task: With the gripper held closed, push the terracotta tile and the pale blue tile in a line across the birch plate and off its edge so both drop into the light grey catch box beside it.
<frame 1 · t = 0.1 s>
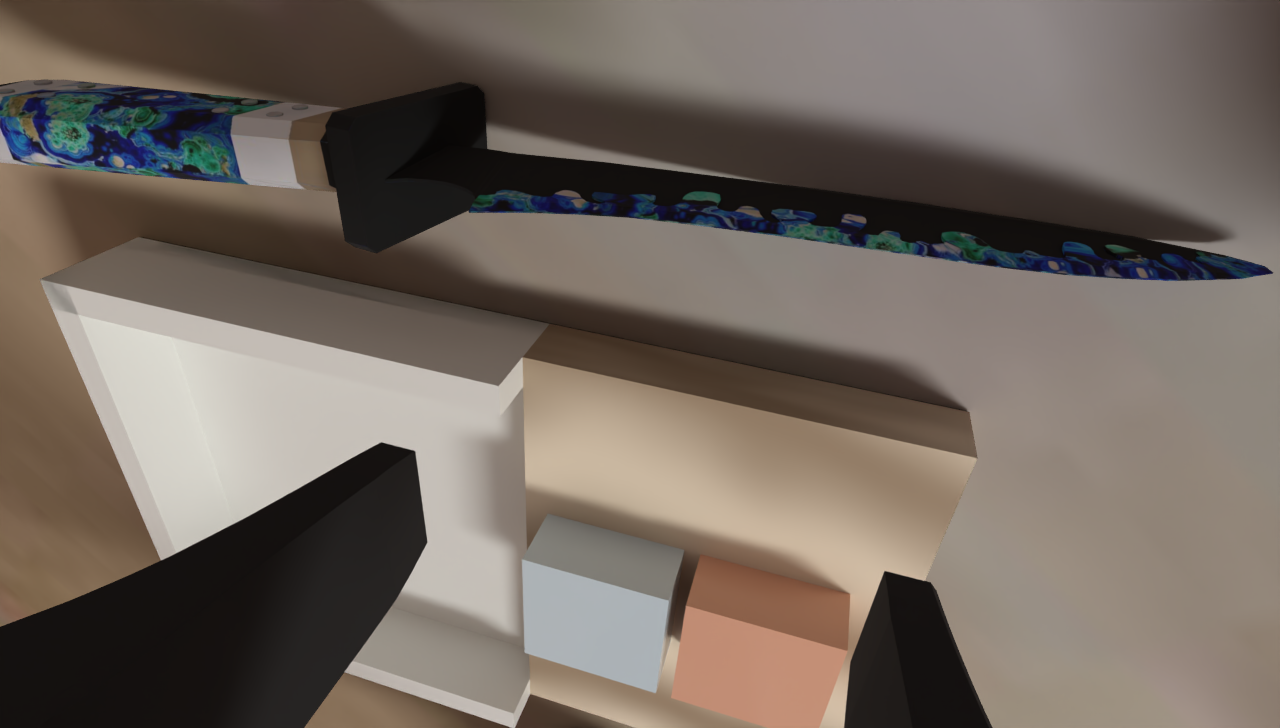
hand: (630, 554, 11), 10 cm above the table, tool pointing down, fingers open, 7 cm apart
catch box: (365, 466, 27), on the table
birch plate: (711, 558, 25), on the table
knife: (589, 161, 19), on the table
terracotta tile: (761, 621, 23), point 2 cm above the table, touching birch plate
blue tile: (611, 579, 24), point 2 cm above the table, touching birch plate
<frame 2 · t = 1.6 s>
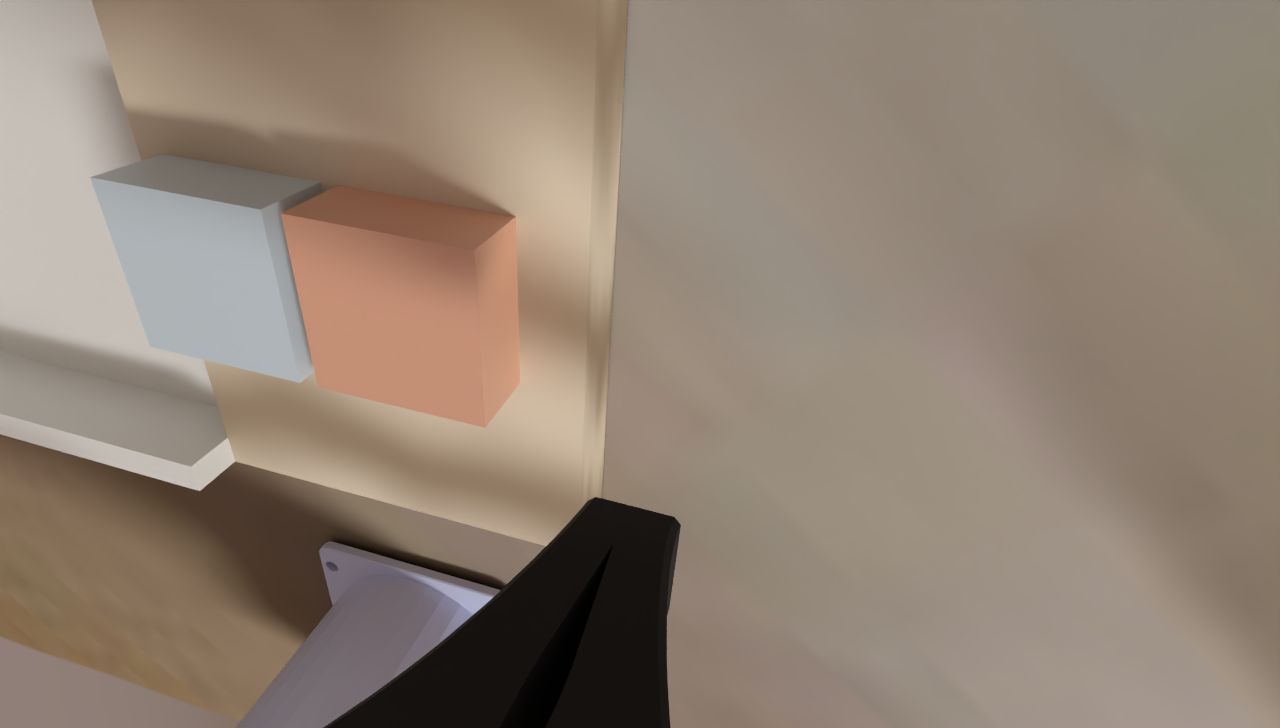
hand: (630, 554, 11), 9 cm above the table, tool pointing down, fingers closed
catch box: (16, 169, 22), on the table
birch plate: (405, 244, 20), on the table
terracotta tile: (433, 288, 18), point 2 cm above the table, touching birch plate
blue tile: (259, 252, 19), point 2 cm above the table, touching birch plate
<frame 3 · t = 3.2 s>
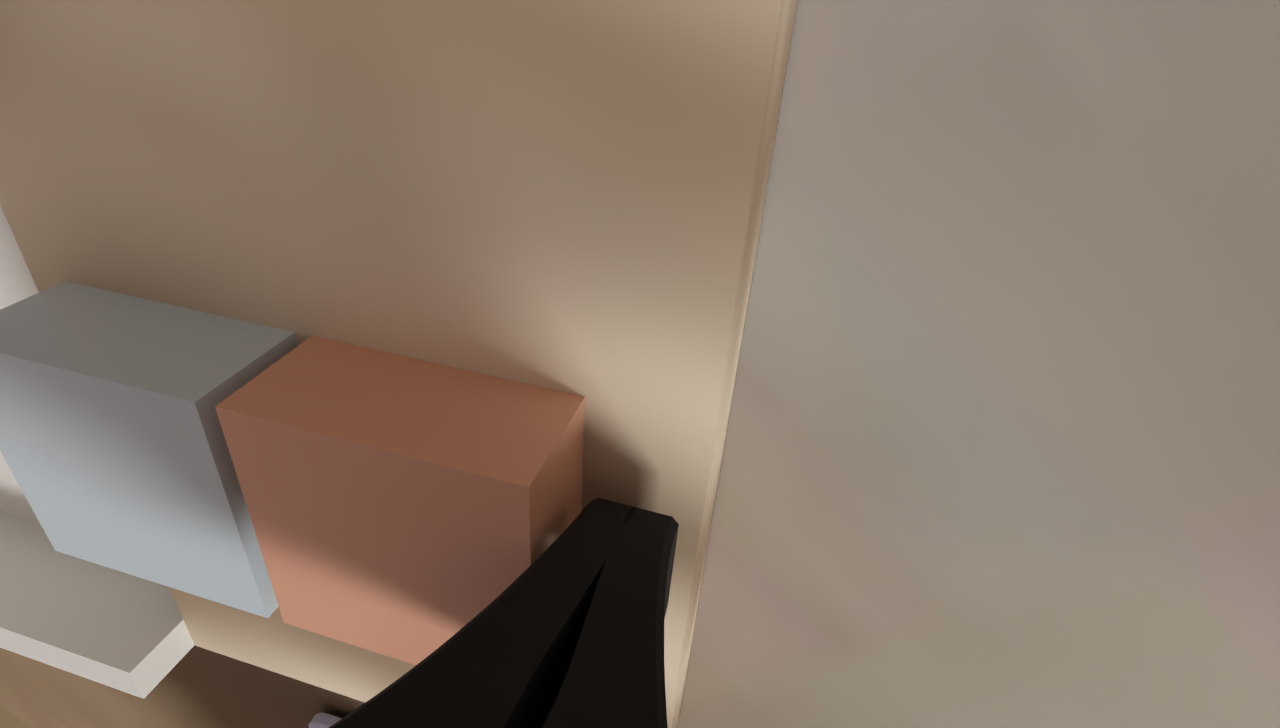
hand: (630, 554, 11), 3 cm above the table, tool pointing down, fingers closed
birch plate: (419, 390, 14), on the table
terracotta tile: (454, 477, 12), point 2 cm above the table, touching gripper
blue tile: (211, 415, 13), point 2 cm above the table, touching birch plate
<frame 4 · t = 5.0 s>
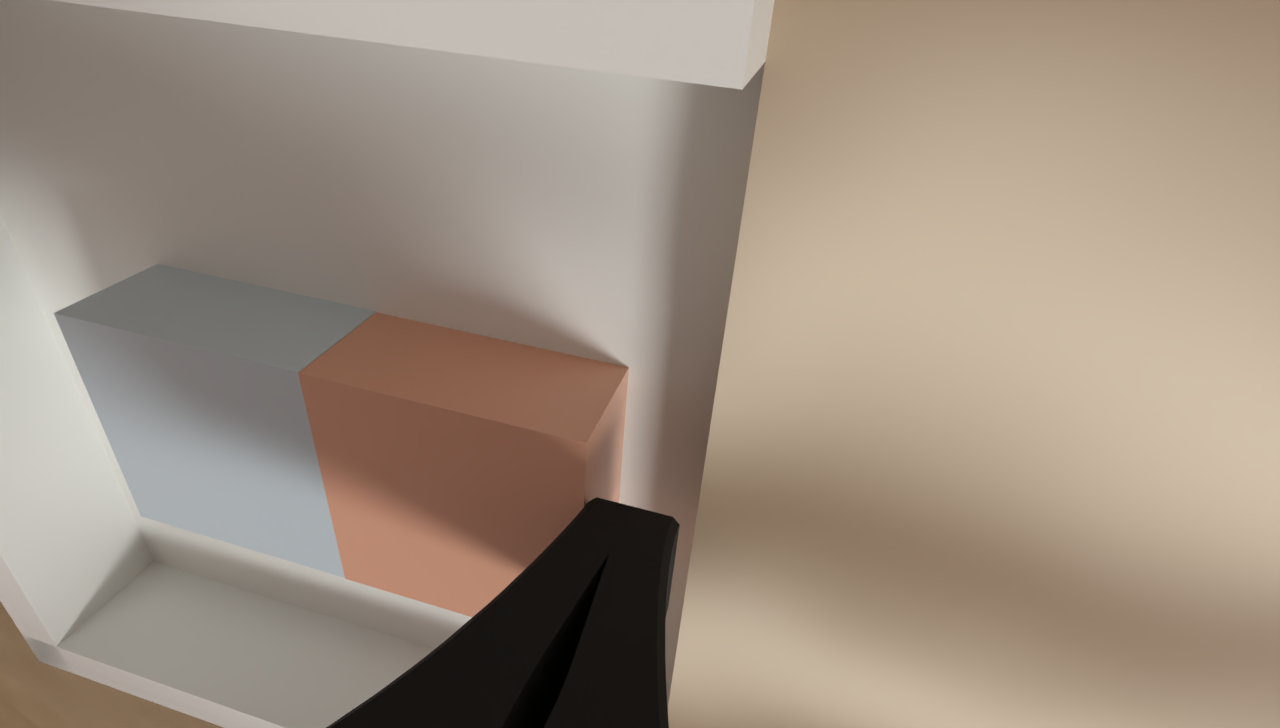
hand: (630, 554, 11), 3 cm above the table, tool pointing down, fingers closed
catch box: (348, 374, 14), on the table
birch plate: (1079, 545, 12), on the table
terracotta tile: (502, 445, 13), point 1 cm above the table, touching blue tile, catch box, gripper
blue tile: (288, 390, 14), point 1 cm above the table, touching catch box, terracotta tile
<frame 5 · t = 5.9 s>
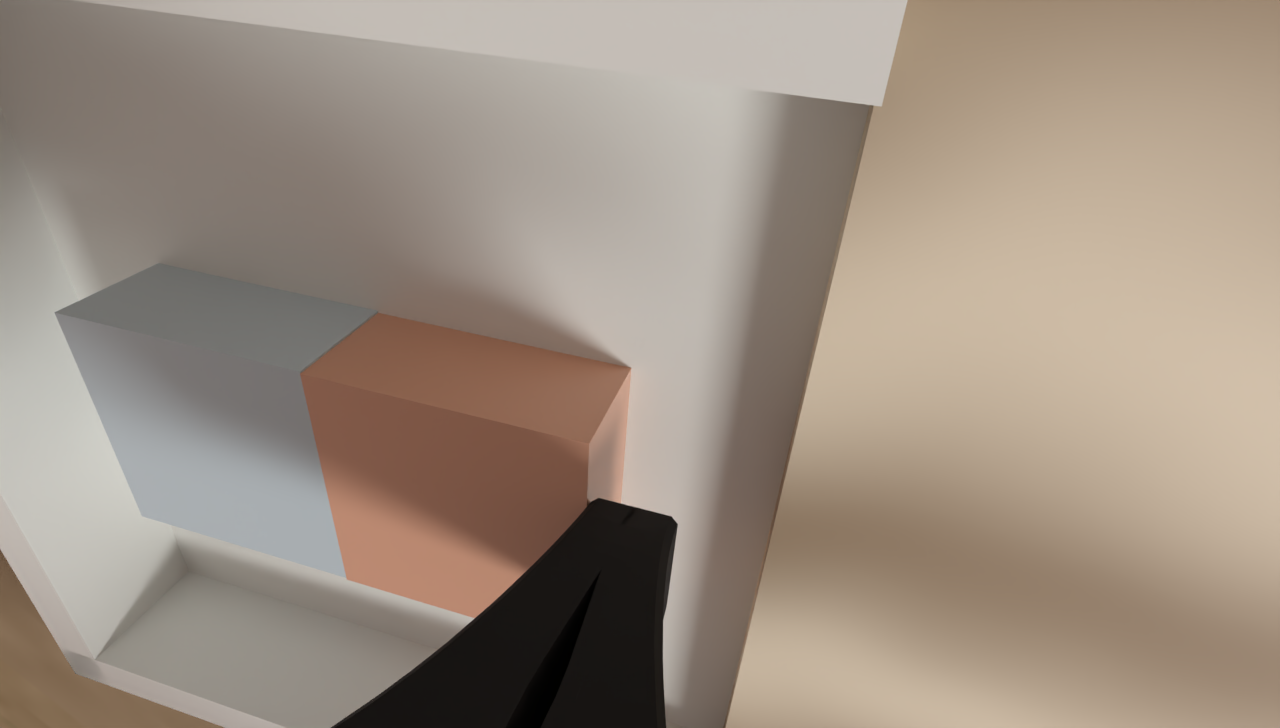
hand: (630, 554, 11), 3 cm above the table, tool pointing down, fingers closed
catch box: (399, 385, 14), on the table
birch plate: (1156, 564, 11), on the table
terracotta tile: (504, 445, 13), point 1 cm above the table, touching blue tile, catch box, gripper
blue tile: (289, 390, 14), point 1 cm above the table, touching catch box, terracotta tile
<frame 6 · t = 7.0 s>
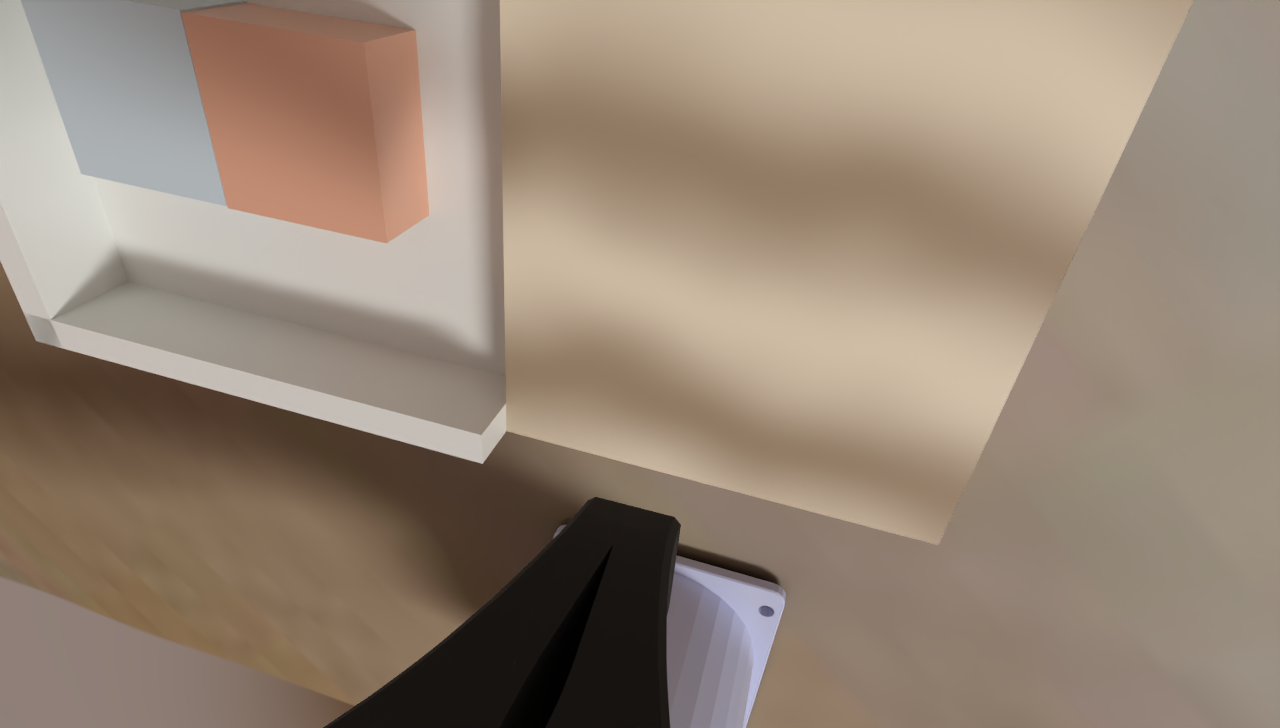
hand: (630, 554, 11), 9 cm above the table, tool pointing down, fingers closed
catch box: (275, 85, 19), on the table
birch plate: (777, 176, 17), on the table
terracotta tile: (342, 113, 18), point 1 cm above the table, touching catch box
blue tile: (191, 83, 19), point 1 cm above the table, touching catch box
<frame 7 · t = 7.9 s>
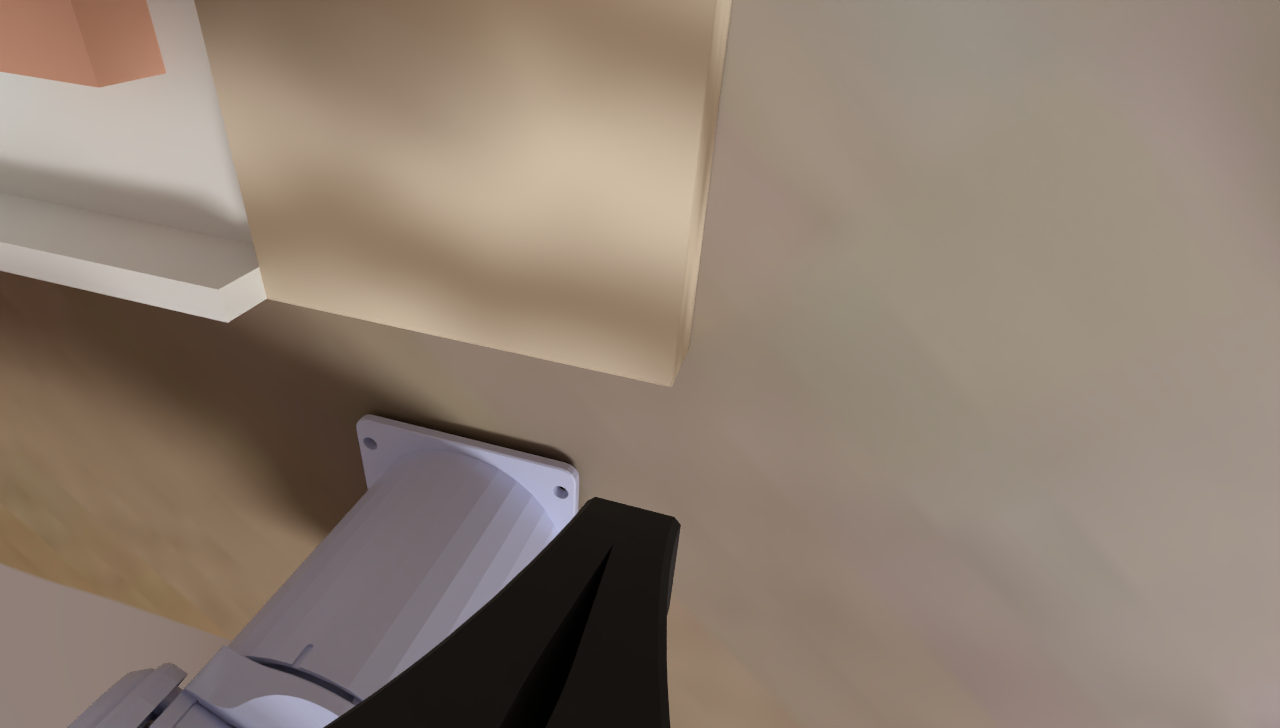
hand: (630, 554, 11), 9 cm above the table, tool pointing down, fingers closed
birch plate: (474, 4, 17), on the table
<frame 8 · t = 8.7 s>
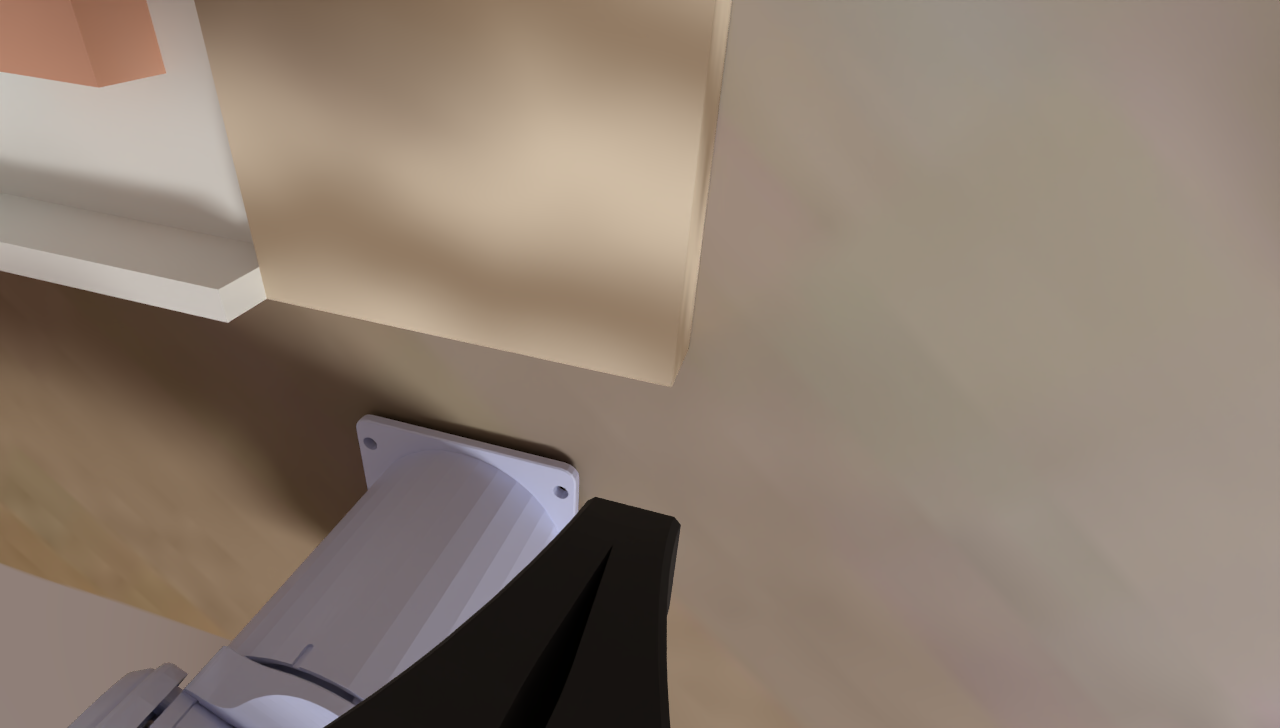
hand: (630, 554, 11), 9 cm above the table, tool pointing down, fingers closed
birch plate: (474, 4, 17), on the table
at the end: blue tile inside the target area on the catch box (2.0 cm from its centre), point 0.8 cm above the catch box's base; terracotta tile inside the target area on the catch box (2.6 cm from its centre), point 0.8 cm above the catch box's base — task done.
